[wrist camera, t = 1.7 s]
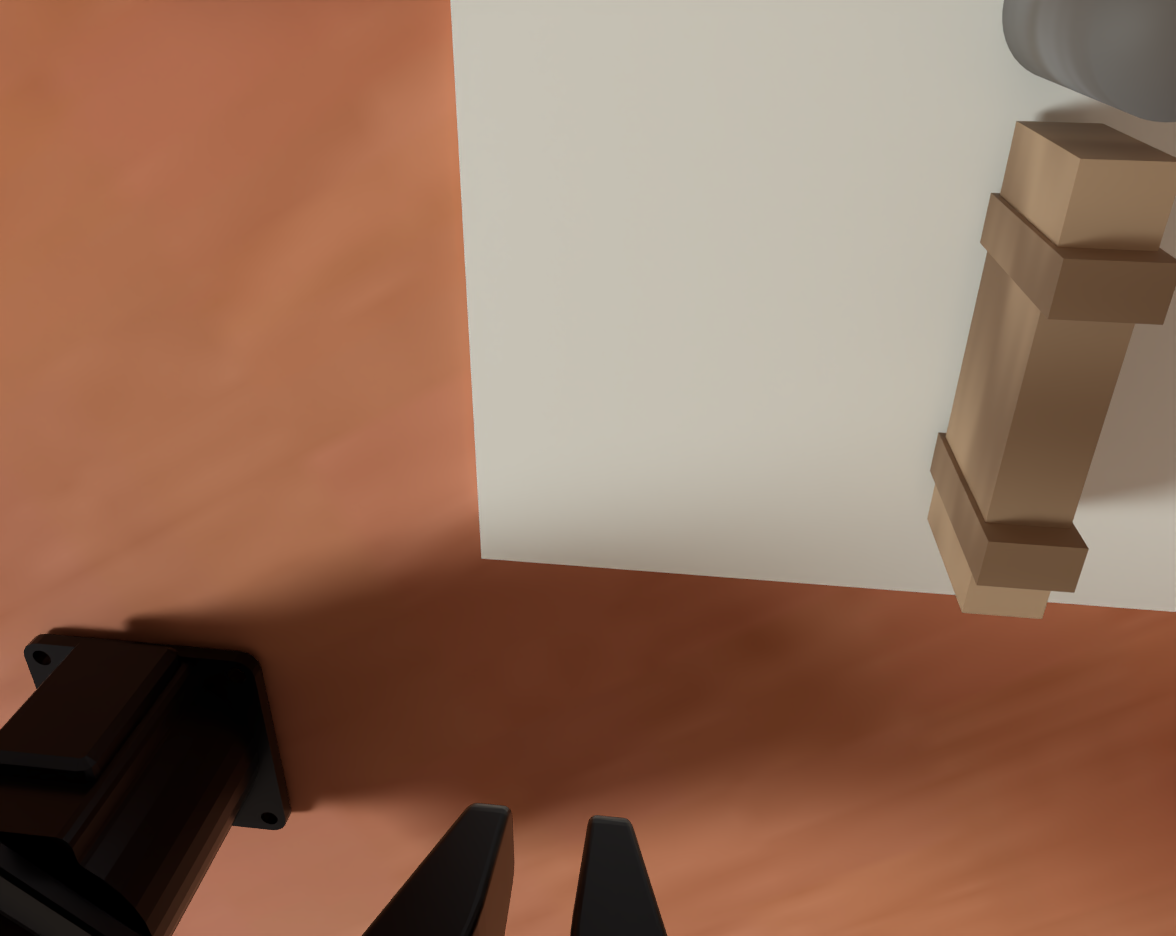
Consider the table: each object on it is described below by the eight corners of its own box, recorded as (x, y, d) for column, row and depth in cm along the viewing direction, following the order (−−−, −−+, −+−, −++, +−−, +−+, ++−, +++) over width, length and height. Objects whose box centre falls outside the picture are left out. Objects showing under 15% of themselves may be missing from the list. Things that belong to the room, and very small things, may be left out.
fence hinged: (1006, 118, 16) (1087, 167, 13) (1104, 121, 16) (1213, 172, 12) (920, 513, 20) (963, 633, 17) (998, 518, 20) (1058, 640, 16)
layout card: (1328, 613, 21) (1340, 626, 20) (484, 548, 22) (480, 560, 22) (2188, -1093, 10) (2252, -1138, 9) (406, -948, 12) (394, -981, 11)
